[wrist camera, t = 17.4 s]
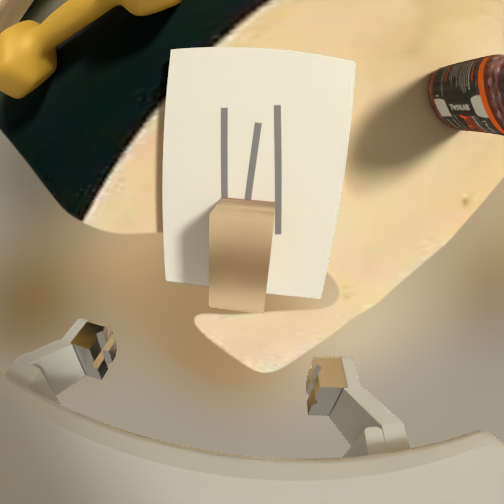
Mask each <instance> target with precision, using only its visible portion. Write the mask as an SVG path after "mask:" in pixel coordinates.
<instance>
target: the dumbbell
mask: <svg viewBox="0 0 504 504" xmlns="http://www.w3.org/2000/svg"><path fill="white" fill-rule="evenodd" d="M181 1H182V0H68V1H67V2H66V3H64V4H63V5H62V6H60V7H59V8H58V9H57V10H55V11H54V12H53V13H52V14H50V15H49V16H48V17H47V18H46V19H45V20H44V21H43V22H42V23H41V24H39V23H37V22H35V21H32V20H26V21H22V22H19V23H17V24H15V25H13V26H11V27H9V28H7V29H5V30H4V31H3V32H1V33H0V91H2V92H4V93H5V94H7V95H9V96H11V97H13V98H17V99H19V98H23V97H24V96H26V95H27V94H29V93H30V92H32V91H33V90H34V89H36V88H37V87H38V86H39V85H41V84H42V83H43V82H44V81H45V80H47V79H48V78H49V77H50V76H51V75H52V74H53V73H54V71H55V70H56V67H57V54H56V46H57V45H58V44H60V43H61V42H63V41H65V40H66V39H68V38H69V37H71V36H72V35H73V34H75V33H76V32H78V31H79V30H81V29H82V28H84V27H85V26H87V25H88V24H90V23H91V22H93V21H94V20H96V19H98V18H99V17H101V16H102V15H104V14H105V13H106V12H108V11H109V10H111V9H112V8H114V7H116V6H118V5H122V6H123V7H124V8H125V9H127V10H128V11H129V12H130V13H132V14H134V15H137V16H145V15H151V14H154V13H157V12H160V11H162V10H165V9H167V8H170V7H172V6H175V5H177V4H179V3H180V2H181Z"/></svg>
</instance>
